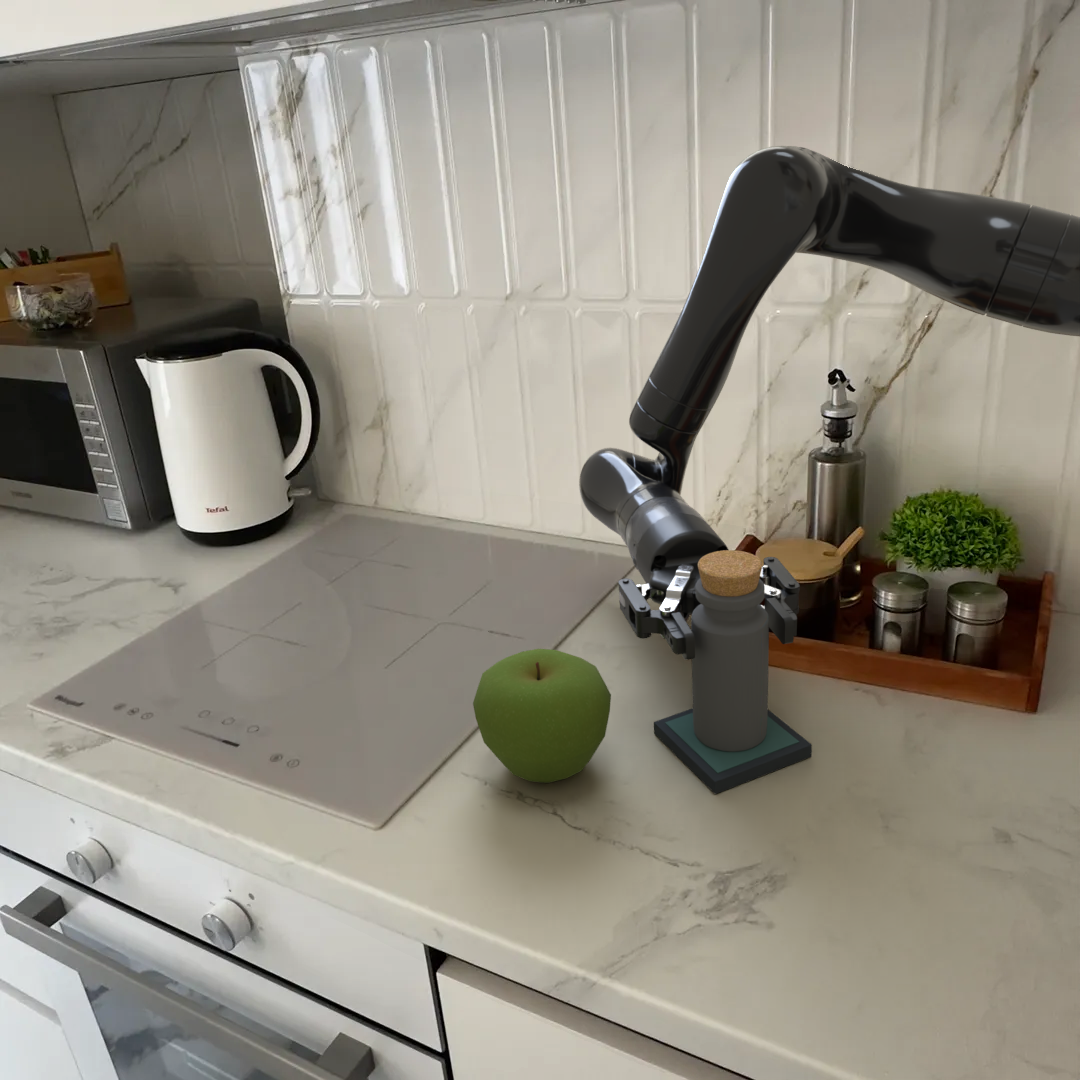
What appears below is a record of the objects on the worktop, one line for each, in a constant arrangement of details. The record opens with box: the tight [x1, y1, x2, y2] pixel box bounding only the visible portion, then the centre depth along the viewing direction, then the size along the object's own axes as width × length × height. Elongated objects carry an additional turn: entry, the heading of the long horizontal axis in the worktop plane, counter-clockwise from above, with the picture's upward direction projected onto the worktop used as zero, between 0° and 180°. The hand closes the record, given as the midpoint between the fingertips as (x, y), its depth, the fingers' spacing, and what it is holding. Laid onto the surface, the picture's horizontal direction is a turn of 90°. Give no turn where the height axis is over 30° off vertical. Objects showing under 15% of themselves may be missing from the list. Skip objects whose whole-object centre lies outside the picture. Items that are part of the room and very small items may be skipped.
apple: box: [472, 648, 612, 784], centre depth 76 cm, size 11×10×10 cm
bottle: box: [690, 549, 770, 752], centre depth 75 cm, size 6×6×15 cm
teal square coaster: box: [653, 707, 813, 795], centre depth 79 cm, size 9×9×1 cm
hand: (740, 640), depth 72 cm, fingers open, 7 cm apart
